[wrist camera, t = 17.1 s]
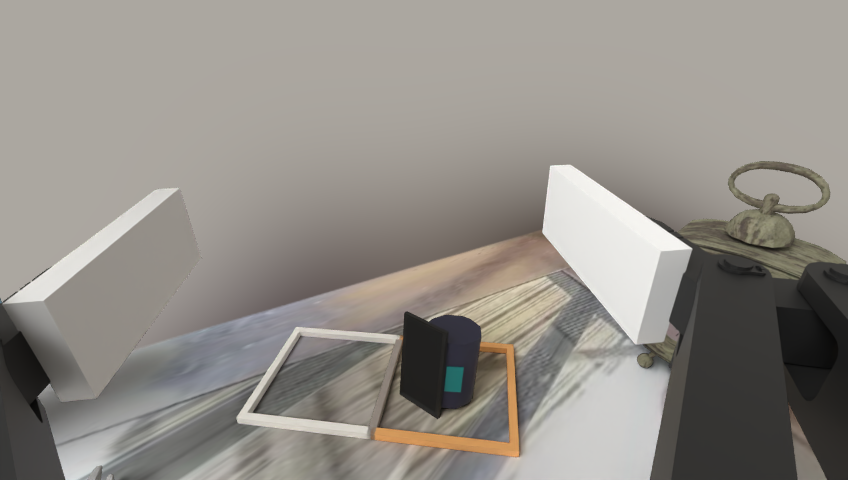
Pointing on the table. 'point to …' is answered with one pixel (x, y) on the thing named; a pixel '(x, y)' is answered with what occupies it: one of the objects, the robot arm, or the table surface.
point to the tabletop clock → (754, 240)
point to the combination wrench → (99, 474)
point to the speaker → (439, 361)
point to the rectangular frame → (382, 401)
